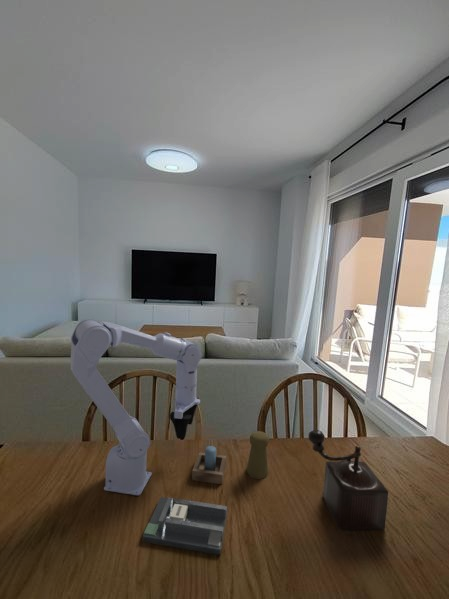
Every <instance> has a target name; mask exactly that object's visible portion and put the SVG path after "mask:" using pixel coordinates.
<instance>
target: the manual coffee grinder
mask: <svg viewBox="0 0 449 599" xmlns="http://www.w3.org/2000/svg"><path fill="white" fill-rule="evenodd" d="M325 437H326V436H325V434H324V432H323V431H321V430H319V429H312V430H311V431H310V432H308V441H310V443H311V444H312V450H313V451H314V452H316V453H318V454H319V455H320V456H322V458H324V459H325V460H328V461H326V462H325V470H324V481H323V483H324V484H323V492H322V494H321V495H322V497H323V500H324V503H325V505H326V506H327V509H328V511H329V513H330V515H331V518H333V520H334V522H335V524H336V525H337V527H338V528H339V530H340V531H345V532H369V531H381V530H385V529H386V526H385V525H386V517H387V510H388V498H389V490H388V489H387V488H386V487H385V485H384V484H383V483H382V481H381V480H380V479H379V478H378V477H377V475H376V474H375V473H374V472H373V470H372V469H371V468H370V467H369V465H368V464H367V463H366V462H365V461H360V460H359V459H360V457H362V453H361V450H362V449H361V446H360V445H356V446H355V447H354V449H355V450H354V451H353V453H350V454H348V455H342V456H330V455H328V454H326V453H325V452H324V450H325V446H324V442H325V439H326V438H325ZM352 459H354V460H352Z"/></svg>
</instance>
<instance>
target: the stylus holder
mask: <svg viewBox="0 0 449 599" xmlns="http://www.w3.org/2000/svg"><path fill="white" fill-rule="evenodd" d="M226 466H227V455H223V454H222V455H220V454H216V465H215V471H209V470H204V467H205V452H199V453H198V455H197V458H196V460H195V463H194V465H193V468H192V473H191V474H192V475H191V480H192V481H197V482H204V483H210V484H218V485H223V482H224V481H223V480H224V475H225V471H226Z"/></svg>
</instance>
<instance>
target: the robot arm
mask: <svg viewBox="0 0 449 599" xmlns="http://www.w3.org/2000/svg"><path fill="white" fill-rule="evenodd" d="M100 322H101V323H100ZM70 340H71V342H70V344H71V348H70V371H71V372H72V375H73V376H74V378H75V379H76V380H77V381H78V383H79V384H80V385H81V387H82V389H84V391H85V393H87V395H88V397H89V398H90V399H91V400H92V402H93V404H94V405H95V406H96V407H97V409H98V410H99V411H100V413H101V414H102V415H103V417H104V418H105V419H106V421H107V422H108V424H110V426H111V427H112V429H113V431H114V434H115V437H116V439H117V440H118V445H115V446H112V447H111V449H109V451H108V454H107V456H106V461H105V486H104V487H103V491H105V492H106V491H107V492H113V493H120V494H125V495H132V496H141V495H142V492H143V491H144V489H145V487H146V486H147V483H148V482H149V480H150V478H151V476H152V474H153V473H152V472H151V471H147V451H148V450H149V448H150V445H151V438H150V436H149V435H148V433H146V431H145V430H144V428H143V427H142V426H141V424H140V422H139V421H138V419H137V418H135V417H134V416H131V415H130V414H129V413H128V411H127V410H126V409H125V407H124V406H123V404H122V403H121V401H120V400H119V399H118V397H117V396H116V395H115V393H114V392H113V390H112V389H111V387H110V386H109V384H108V383H107V381H106V380H105V378H104V377H103V376H102V374H101V373H100V372H99V370H98V368H97V366H98V364H99V361H100V360H101V358H102V356H103V355H104V354H105V353H106V352H107V350H108V349H109V348H110V346H111V347H112V348H115V347H118V345H120V344H123V343H124V344H129V345H134V346H136V347H137V346H138V347H141V348H147V349H150V351H151V353H152V355H155V356H157V357H162V358H165V359H169V360H173V361H176V369H175V370H176V372H175V398H174V408H175V410H174V411H171V412H170V414H169V419H170V421H171V422H172V424H173V427H174V431H175V435H176V439H178V440H179V439H180V440H185V439H186V435H187V432H188V425H192V424H193V421H194V416H195V412H196V409H197V406H198V405H199V404H200V403H201V399H200V398H198V397H197V384H198V383H197V382H198V381H197V379H198V369H199V367H198V365H199V362H200V361H201V359H202V357H203V353H202V351H201V349H200V347H199V345H197V344H196V343H193V342H192V341H189V340H187V339H186V338H183V337H180V338H178V337H174V336H172V334H171V333H168V332H166V331H165V332H164V333H162V332H160V333H158V334H155V335H150V334H148V333H145V332H143V331H140V330H139V331H138V330H136V329H132V328H131V327H127V326H124V325H121V324H117V323H113V322H109V321H103V320H100V321H98V320H97V319H94V318H86V319H83V320H81V321H80V322H78V323H77V325H76V326H75V328H74V330H73V332H72V334H71V336H70Z"/></svg>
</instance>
